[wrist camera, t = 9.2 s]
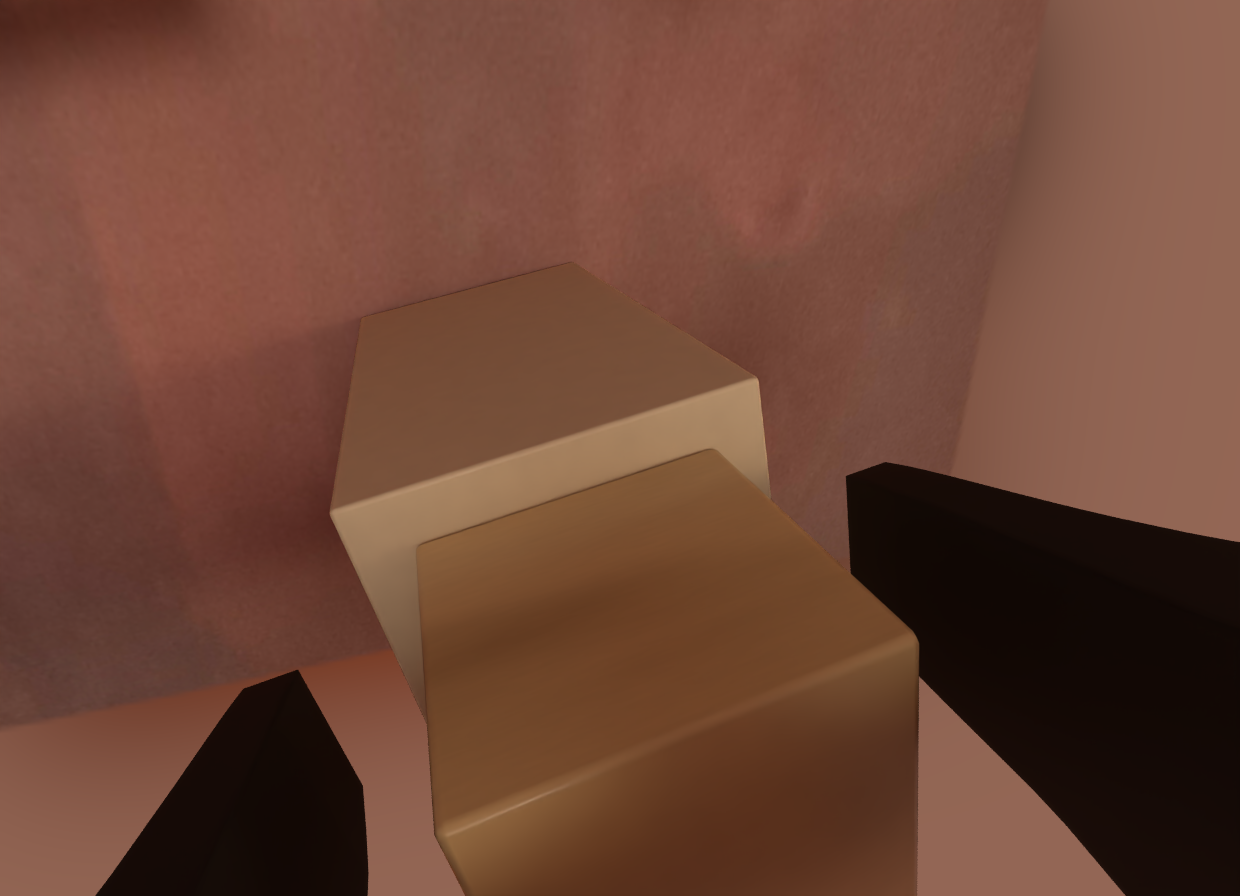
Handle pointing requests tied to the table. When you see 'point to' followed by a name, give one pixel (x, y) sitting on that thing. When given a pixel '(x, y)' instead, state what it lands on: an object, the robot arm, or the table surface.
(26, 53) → the table surface
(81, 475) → the table surface
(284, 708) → the robot arm
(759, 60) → the table surface
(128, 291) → the table surface
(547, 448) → the pedestal
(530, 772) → the block
